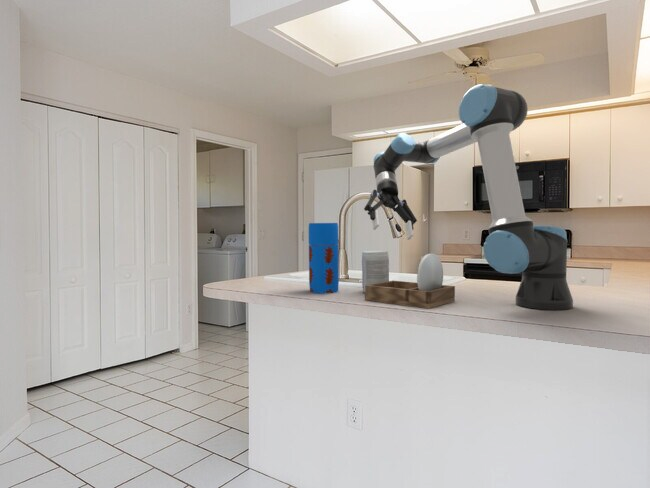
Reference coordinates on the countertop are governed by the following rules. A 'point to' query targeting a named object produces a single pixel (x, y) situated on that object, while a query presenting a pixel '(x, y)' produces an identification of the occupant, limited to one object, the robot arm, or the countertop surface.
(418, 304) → the rack
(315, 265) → the thermos
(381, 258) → the supplement tub
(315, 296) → the countertop surface
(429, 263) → the plate
